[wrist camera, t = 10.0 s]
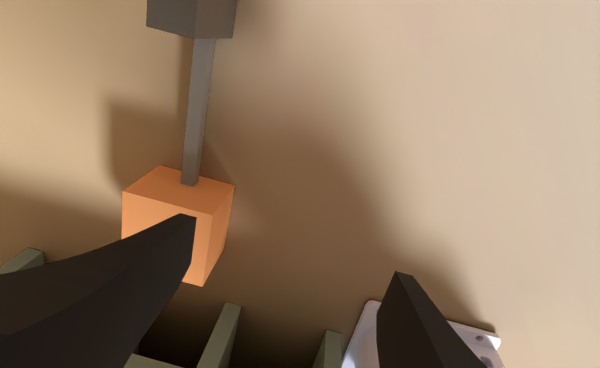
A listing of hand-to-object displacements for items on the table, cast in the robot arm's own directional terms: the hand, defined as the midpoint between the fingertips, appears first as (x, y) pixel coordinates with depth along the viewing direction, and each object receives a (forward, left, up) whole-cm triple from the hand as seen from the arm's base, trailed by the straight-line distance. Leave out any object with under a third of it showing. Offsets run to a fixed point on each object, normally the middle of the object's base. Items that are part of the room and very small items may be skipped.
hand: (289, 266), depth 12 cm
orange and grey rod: (+7, -1, -9) cm, 12 cm away
